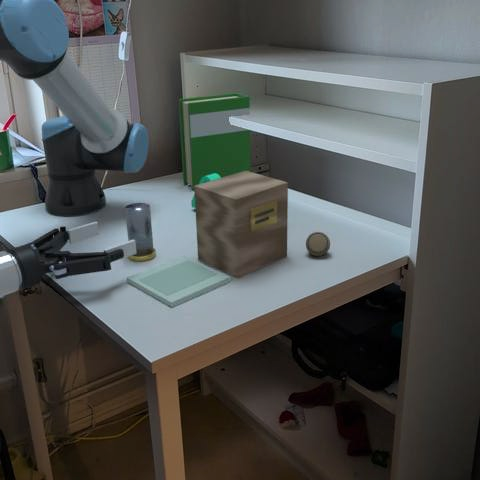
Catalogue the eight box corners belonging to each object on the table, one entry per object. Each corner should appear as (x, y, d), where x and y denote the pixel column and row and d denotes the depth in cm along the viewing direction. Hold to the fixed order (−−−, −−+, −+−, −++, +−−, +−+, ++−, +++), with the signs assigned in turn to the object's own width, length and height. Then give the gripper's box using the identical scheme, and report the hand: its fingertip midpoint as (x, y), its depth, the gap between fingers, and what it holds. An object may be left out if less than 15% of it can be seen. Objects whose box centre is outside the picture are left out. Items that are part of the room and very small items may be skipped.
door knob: (300, 254, 126) (301, 231, 124) (318, 248, 129) (319, 226, 127) (316, 262, 123) (317, 239, 121) (334, 255, 125) (335, 233, 123)
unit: (198, 259, 125) (194, 185, 118) (246, 240, 133) (245, 170, 127) (239, 278, 116) (238, 200, 110) (289, 257, 125) (289, 183, 119)
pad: (127, 282, 116) (126, 277, 116) (184, 259, 125) (184, 255, 124) (171, 307, 107) (171, 302, 106) (230, 281, 115) (230, 276, 115)
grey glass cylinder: (122, 256, 127) (117, 207, 123) (145, 248, 131) (141, 200, 127) (138, 264, 123) (133, 213, 119) (161, 255, 127) (157, 206, 123)
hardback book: (193, 191, 165) (189, 103, 156) (183, 184, 172) (178, 99, 162) (250, 181, 173) (249, 96, 163) (238, 175, 179) (237, 92, 169)
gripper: (-12, 267, 117) (85, 237, 130) (49, 313, 100) (153, 273, 114) (-19, 232, 114) (81, 204, 127) (42, 273, 97) (150, 236, 111)
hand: (115, 236), depth 121 cm, fingers open, 13 cm apart
